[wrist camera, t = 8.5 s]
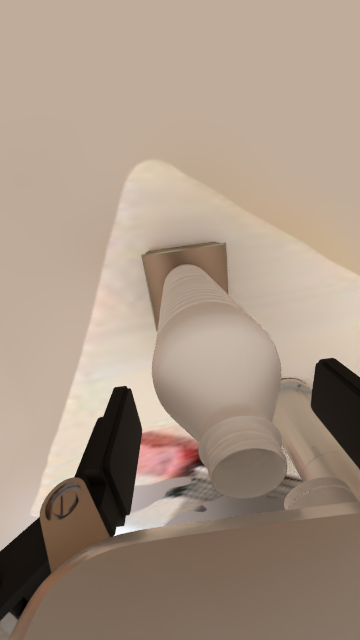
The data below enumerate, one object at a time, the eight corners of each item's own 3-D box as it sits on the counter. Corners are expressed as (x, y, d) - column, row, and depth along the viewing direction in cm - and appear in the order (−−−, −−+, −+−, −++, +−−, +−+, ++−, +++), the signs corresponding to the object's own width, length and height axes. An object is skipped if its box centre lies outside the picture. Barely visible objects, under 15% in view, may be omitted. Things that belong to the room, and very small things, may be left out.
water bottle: (154, 290, 29) (88, 494, 6) (185, 253, 28) (263, 333, 4) (199, 327, 31) (281, 579, 8) (230, 295, 30) (442, 495, 7)
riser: (214, 241, 35) (226, 243, 27) (218, 304, 39) (229, 321, 32) (147, 250, 35) (141, 255, 27) (159, 313, 39) (156, 331, 32)
